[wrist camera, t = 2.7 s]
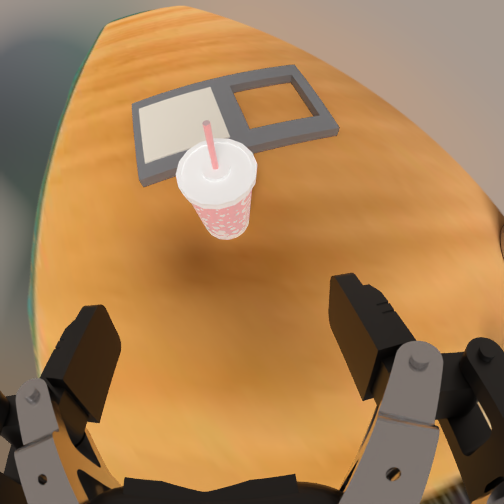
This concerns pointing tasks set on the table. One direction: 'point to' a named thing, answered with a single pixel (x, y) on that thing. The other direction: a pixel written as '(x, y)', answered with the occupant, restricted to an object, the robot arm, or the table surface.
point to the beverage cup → (219, 183)
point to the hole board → (218, 120)
